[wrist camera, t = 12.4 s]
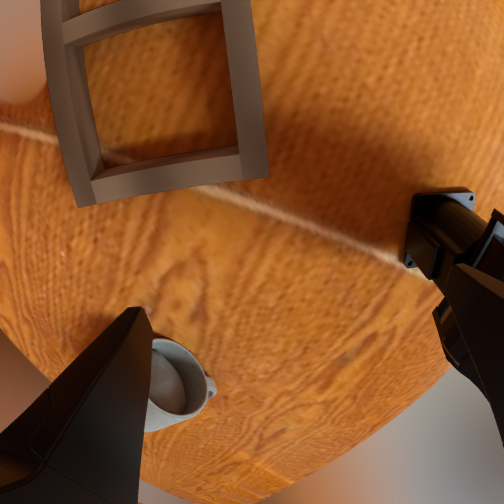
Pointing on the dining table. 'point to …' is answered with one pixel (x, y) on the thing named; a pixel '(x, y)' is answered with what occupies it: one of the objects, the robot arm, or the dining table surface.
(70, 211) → the dining table surface
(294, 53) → the dining table surface
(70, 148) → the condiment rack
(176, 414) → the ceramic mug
